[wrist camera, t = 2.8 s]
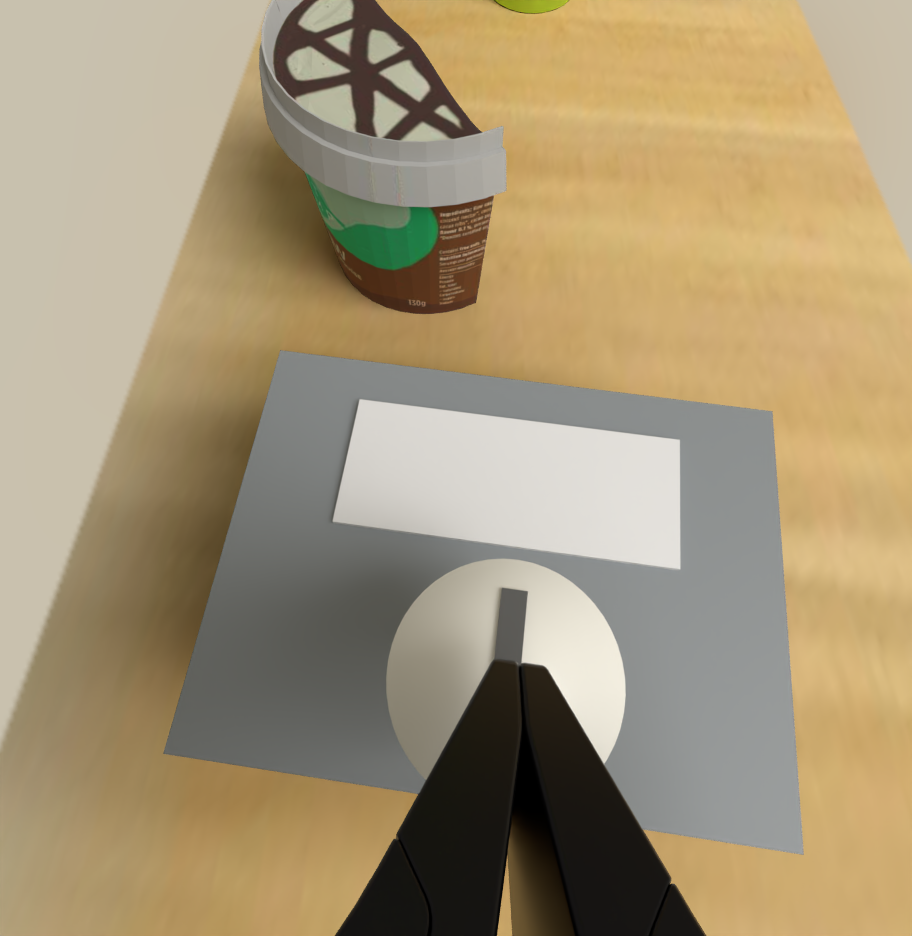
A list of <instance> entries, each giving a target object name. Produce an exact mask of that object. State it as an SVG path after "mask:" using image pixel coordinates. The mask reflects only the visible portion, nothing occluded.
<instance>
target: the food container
mask: <svg viewBox="0 0 912 936" xmlns="http://www.w3.org/2000/svg"><path fill="white" fill-rule="evenodd" d="M259 68H260V77H261V85H262V94H263V103H264V109H265V113H266V118H267V122H268V125H269V127H270V129H271V131H272V134H273V136H274V138H275V140H276V142H277V143H278V144H279V146H280V147H281V148H282V149H283V151H284V152H285V153H286V155H287V156H288V157H289V158H290V159H291V160H292V161H293V162H294V163H295V164H296V165H298V166H299V167H300V168H301V169H302V170H303V171H304V172H305V174H306V177H307V179H308V182H309V184H310V187H311V190H312V192H313V195H314V197H315V200H316V203H317V205H318V208H319V210H320V213H321V215H322V218H323V221H324V223H325V226H326V228H327V231H328V234H329V236H330V239H331V241H332V244H333V247H334V249H335V252H336V254H337V257H338V260H339V262H340V265H341V267H342V269H343V271H344V273H345V275H346V277H347V278H348V279H349V281H350V282H351V283H352V285H353V286H354V287H355V288H356V289H358V290H359V291H360V292H361V293H362V294H363V295H365V296H366V297H368V298H369V299H371V300H372V301H374V302H376V303H378V304H380V305H383V306H385V307H387V308H391V309H394V310H398V311H401V312H408V313H415V314H434V313H443V312H449V311H453V310H457V309H461V308H463V307H466V306H468V305H471V304H473V303H476V300H477V294H478V288H479V282H480V276H481V270H482V264H483V258H484V252H485V246H486V240H487V234H488V228H489V222H490V216H491V210H492V204H493V198H494V195H496V194H499V193H502V192H504V191H506V150H505V149H504V148H503V147H502V144H503V128H504V127H503V126H501V127H498V128H495V129H492V130H489V131H485V132H481V131H480V130H479V129H478V128H477V127H476V126H475V125H474V124H473V123H472V122H471V121H470V119H469V118H468V117H467V115H466V114H465V113H464V112H463V110H462V109H461V108H460V106H459V105H458V104H457V102H456V101H455V100H454V98H453V97H452V95H451V94H450V92H449V91H448V89H447V88H446V87H445V85H444V83H443V82H442V80H441V79H440V77H439V75H438V74H437V72H436V71H435V69H434V67H433V66H432V64H431V63H430V61H429V60H428V58H427V57H426V55H425V54H424V52H423V51H422V50H421V48H420V46H419V45H418V44H417V43H416V42H415V41H414V40H413V39H412V38H411V37H410V36H409V34H408V33H407V32H405V31H404V30H403V29H402V28H401V27H400V26H399V25H397V24H396V23H395V22H394V21H393V20H392V19H391V18H390V17H389V16H388V15H387V14H386V13H385V12H384V11H383V9H382V8H381V7H380V6H379V4H378V3H377V2H376V1H375V0H272V1H271V3H270V5H269V7H268V9H267V11H266V13H265V17H264V21H263V26H262V41H261V46H260V55H259Z"/></svg>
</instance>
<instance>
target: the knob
mask: <svg viewBox="0 0 912 936" xmlns="http://www.w3.org/2000/svg"><path fill="white" fill-rule="evenodd" d="M493 659H504V660H511V661H516V662H517V663H518V665H520V664H521V663H531V664H538V665H543V666H545V667H546V668H547V669H548V670H549V672H550V674H551V675H552V677H553V679H554V680H555V682H556V684H557V686H558V687H559V689H560V691H561V692H562V694H563V696H564V697H565V699H566V701H567V702H568V704H569V706H570V708H571V709H572V711H573V713H574V714H575V716H576V718H577V719H578V721H579V723H580V724H581V726H582V728H583V729H584V731H585V733H586V735H587V736H588V738H589V740H590V741H591V743H592V745H593V746H594V748H595V750H596V751H597V753H598V755H599V757H600V758H601V760H602V762H603V763H605V762H606V761H607V759H608V757H609V755H610V753H611V751H612V749H613V747H614V745H615V743H616V740H617V737H618V734H619V732H620V729H621V724H622V720H623V715H624V708H625V697H626V690H625V675H624V668H623V662H622V658H621V655H620V651H619V647H618V645H617V642H616V640H615V637H614V635H613V632H612V630H611V628H610V627H609V625H608V623H607V621H606V619H605V618H604V616H603V615H602V613H601V612H600V611H599V609H598V608H597V606H596V605H595V604H594V603H593V602H592V600H591V599H590V598H589V597H588V596H587V595H586V594H585V593H584V592H583V591H582V590H581V589H579V588H578V587H577V586H576V585H575V584H574V583H572V582H571V581H569V580H568V579H566V578H565V577H563V576H562V575H560V574H558V573H556V572H554V571H552V570H550V569H548V568H546V567H543V566H540V565H538V564H535V563H532V562H527V561H522V560H516V559H488V560H483V561H478V562H473V563H470V564H467V565H464V566H461V567H459V568H457V569H455V570H453V571H451V572H449V573H447V574H445V575H444V576H442V577H441V578H439V579H438V580H436V581H435V582H433V583H432V584H431V585H430V586H429V587H428V588H427V589H425V590H424V591H423V592H422V593H421V594H420V596H419V597H418V598H417V599H416V600H415V601H414V602H413V604H412V605H411V607H410V608H409V610H408V611H407V612H406V614H405V615H404V617H403V619H402V621H401V623H400V625H399V627H398V629H397V632H396V634H395V637H394V640H393V642H392V646H391V650H390V654H389V658H388V665H387V674H386V694H387V701H388V708H389V713H390V717H391V721H392V724H393V728H394V730H395V733H396V735H397V738H398V740H399V743H400V745H401V746H402V748H403V750H404V752H405V754H406V755H407V757H408V759H409V760H410V762H411V763H412V764H413V766H414V767H415V768H416V770H417V771H418V772H419V773H420V774H421V775H422V776H423V778H424V779H425V780H427V778H428V776H429V774H430V772H431V770H432V769H433V767H434V765H435V763H436V761H437V760H438V758H439V756H440V754H441V752H442V750H443V749H444V747H445V745H446V743H447V741H448V740H449V738H450V736H451V734H452V732H453V730H454V729H455V727H456V725H457V723H458V721H459V720H460V718H461V716H462V714H463V712H464V710H465V709H466V707H467V705H468V703H469V701H470V700H471V698H472V696H473V694H474V692H475V690H476V689H477V687H478V685H479V683H480V681H481V680H482V678H483V676H484V674H485V672H486V670H487V669H488V667H489V665H490V663H491V662H492V660H493Z"/></svg>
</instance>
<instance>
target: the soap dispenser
mask: <svg viewBox="0 0 912 936" xmlns="http://www.w3.org/2000/svg"><path fill="white" fill-rule="evenodd" d="M495 1H496V2H497V3H499V4H500V5H502V6H504V7H506V8H508V9H511V10H514V11H518V12H524V13H542V12H548V11H551V10H554V9H557V8H559V7H561V6H563V5H564V4H565V3H567V2H568V1H569V0H495Z"/></svg>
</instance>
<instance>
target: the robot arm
mask: <svg viewBox="0 0 912 936" xmlns="http://www.w3.org/2000/svg"><path fill="white" fill-rule="evenodd" d="M507 853H508V869H509V886H510V903H511V920H512V936H706V934H705V933H704V931H703V930H702V928H701V926H700V925H699V923H698V922H697V920H696V918H695V917H694V915H693V913H692V912H691V910H690V908H689V907H688V905H687V903H686V901H685V900H684V898H683V896H682V895H681V893H680V891H679V890H678V888H677V886H676V885H675V884H670V883H671V876H670V875H669V873H668V871H667V870H666V868H665V866H664V865H663V863H662V861H661V860H660V858H659V856H658V854H657V853H656V851H655V849H654V848H653V846H652V844H651V843H650V841H649V839H648V838H647V836H646V834H645V833H644V831H643V829H642V827H641V826H640V824H639V822H638V821H637V819H636V817H635V816H634V814H633V812H632V811H631V809H630V807H629V805H628V804H627V802H626V800H625V799H624V797H623V795H622V794H621V792H620V790H619V789H618V787H617V785H616V784H615V782H614V780H613V778H612V777H611V775H610V773H609V772H608V770H607V768H606V767H605V765H604V763H603V762H602V760H601V758H600V757H599V755H598V753H597V751H596V750H595V748H594V746H593V745H592V743H591V741H590V740H589V738H588V736H587V735H586V733H585V731H584V729H583V728H582V726H581V724H580V723H579V721H578V719H577V718H576V716H575V714H574V713H573V711H572V709H571V708H570V706H569V704H568V702H567V701H566V699H565V697H564V696H563V694H562V692H561V691H560V689H559V687H558V686H557V684H556V682H555V680H554V679H553V677H552V675H551V674H550V672H549V670H548V669H547V668H546V667H545V666H543V665H538V664H531V663H521V664H520V665H518V663H517V662H516V661H511V660H504V659H493V660H492V662H491V663H490V665H489V667H488V669H487V670H486V672H485V674H484V676H483V678H482V680H481V681H480V683H479V685H478V687H477V689H476V690H475V692H474V694H473V696H472V698H471V700H470V701H469V703H468V705H467V707H466V709H465V710H464V712H463V714H462V716H461V718H460V720H459V721H458V723H457V725H456V727H455V729H454V730H453V732H452V734H451V736H450V738H449V740H448V741H447V743H446V745H445V747H444V749H443V750H442V752H441V754H440V756H439V758H438V760H437V761H436V763H435V765H434V767H433V769H432V770H431V772H430V774H429V776H428V778H427V780H426V781H425V783H424V785H423V787H422V789H421V790H420V792H419V794H418V796H417V798H416V800H415V801H414V803H413V805H412V807H411V809H410V810H409V812H408V814H407V816H406V818H405V820H404V821H403V823H402V825H401V827H400V829H399V830H398V832H397V834H396V839H394V840H393V841H392V842H391V844H390V846H389V848H388V850H387V851H386V853H385V855H384V857H383V859H382V861H381V862H380V864H379V866H378V868H377V869H376V871H375V873H374V874H373V876H372V878H371V879H370V881H369V883H368V884H367V886H366V888H365V890H364V891H363V893H362V895H361V896H360V898H359V900H358V901H357V903H356V905H355V906H354V908H353V909H352V911H351V912H350V914H349V915H348V917H347V918H346V920H345V921H344V923H343V924H342V926H341V927H340V929H339V930H338V932H337V933H336V935H335V936H497V930H498V923H499V915H500V907H501V899H502V891H503V884H504V876H505V868H506V860H507Z"/></svg>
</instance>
